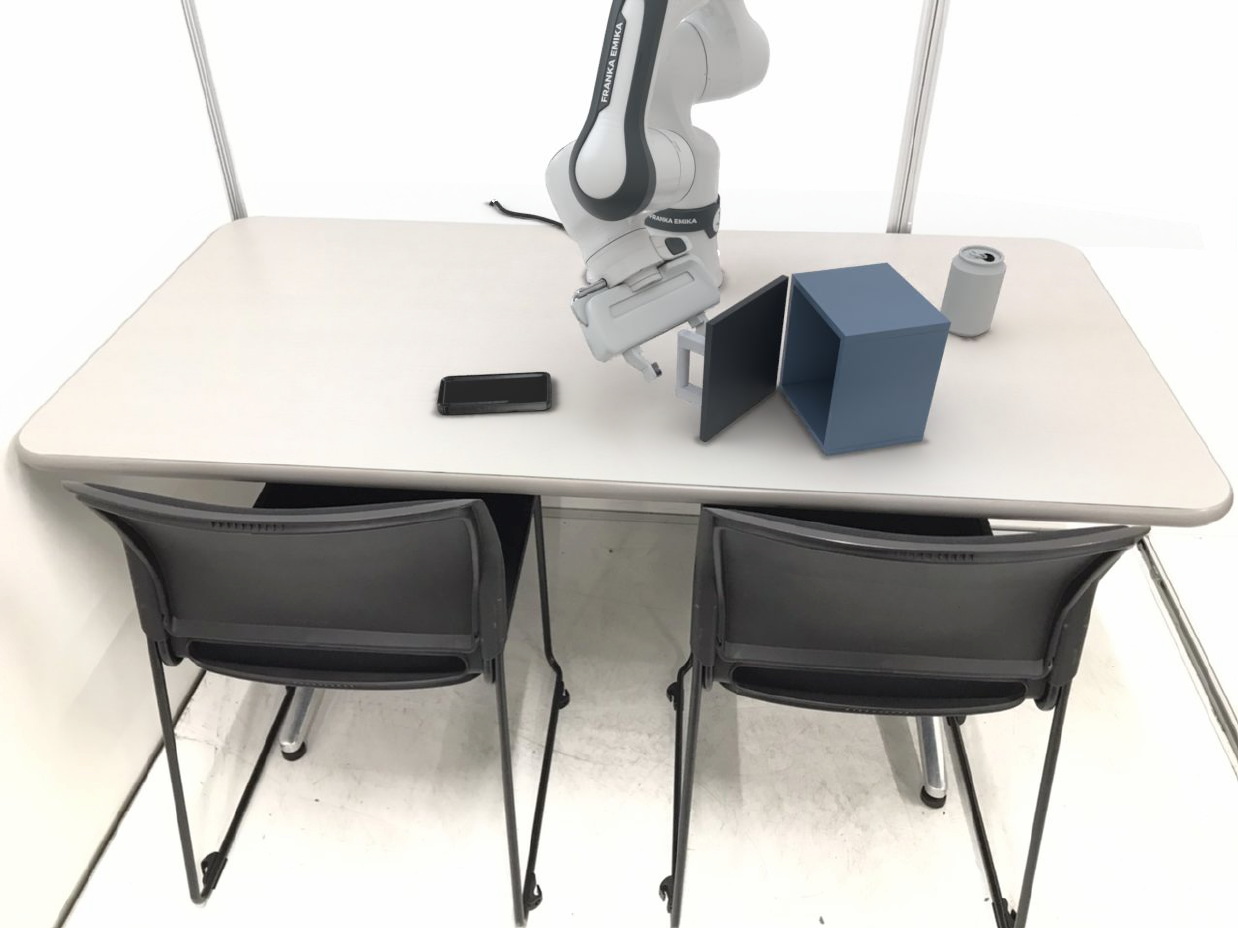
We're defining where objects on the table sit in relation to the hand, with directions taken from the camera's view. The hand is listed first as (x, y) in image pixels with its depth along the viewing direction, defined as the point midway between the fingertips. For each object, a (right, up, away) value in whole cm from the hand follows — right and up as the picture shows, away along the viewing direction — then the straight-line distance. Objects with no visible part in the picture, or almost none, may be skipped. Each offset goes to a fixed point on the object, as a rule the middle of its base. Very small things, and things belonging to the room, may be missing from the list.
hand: (682, 364), depth 114 cm
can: (+44, +8, +23) cm, 50 cm away
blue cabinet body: (+22, -6, +5) cm, 23 cm away
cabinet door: (+6, -5, +7) cm, 10 cm away
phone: (-25, -3, +9) cm, 27 cm away
